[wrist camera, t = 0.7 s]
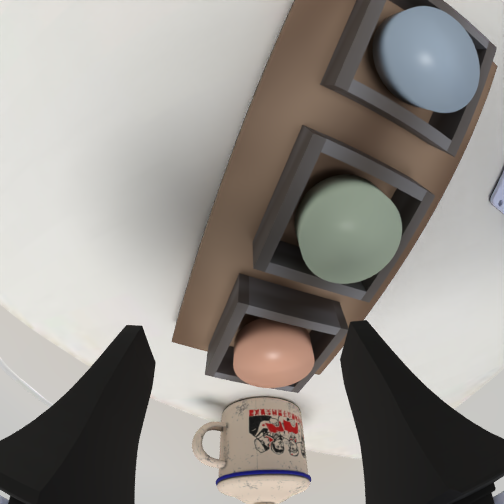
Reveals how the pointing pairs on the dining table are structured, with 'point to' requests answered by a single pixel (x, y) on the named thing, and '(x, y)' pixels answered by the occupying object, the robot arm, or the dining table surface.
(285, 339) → the button terracotta
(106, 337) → the dining table surface
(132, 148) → the dining table surface
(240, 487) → the teacup with lid
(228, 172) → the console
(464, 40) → the button slate
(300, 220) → the button sage
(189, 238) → the dining table surface
